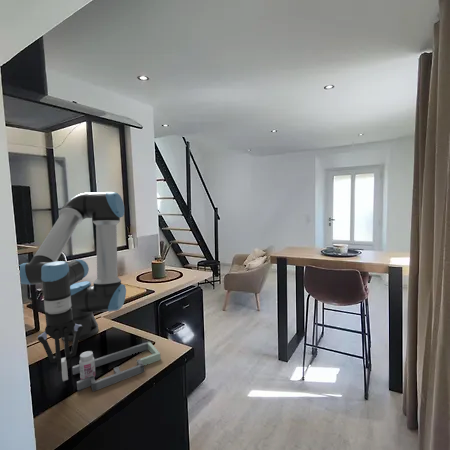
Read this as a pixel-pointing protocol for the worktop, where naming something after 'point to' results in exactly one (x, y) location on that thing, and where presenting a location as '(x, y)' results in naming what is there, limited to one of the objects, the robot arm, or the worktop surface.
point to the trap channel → (117, 374)
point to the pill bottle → (87, 365)
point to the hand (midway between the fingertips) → (65, 378)
